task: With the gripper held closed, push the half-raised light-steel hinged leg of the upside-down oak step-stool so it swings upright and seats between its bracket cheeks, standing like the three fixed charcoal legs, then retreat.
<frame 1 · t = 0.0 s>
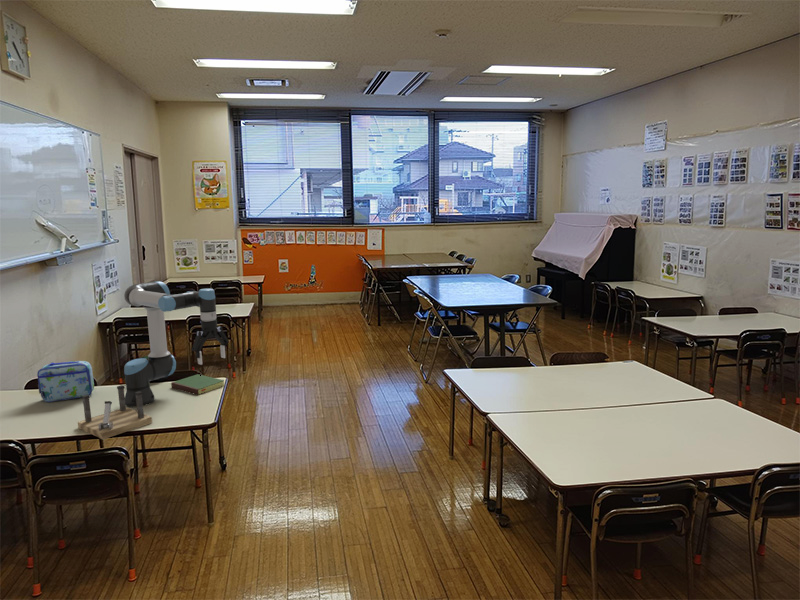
hand: (211, 360, 279), 28 cm above the table, fingers open, 13 cm apart
hardcover book: (198, 388, 327), on the table
lunch box: (68, 398, 310), on the table
stool top: (115, 425, 270), on the table
toy tractor: (149, 381, 339), on the table
hinged leg: (106, 415, 260), point 9 cm above the table, hinge at 58.0°
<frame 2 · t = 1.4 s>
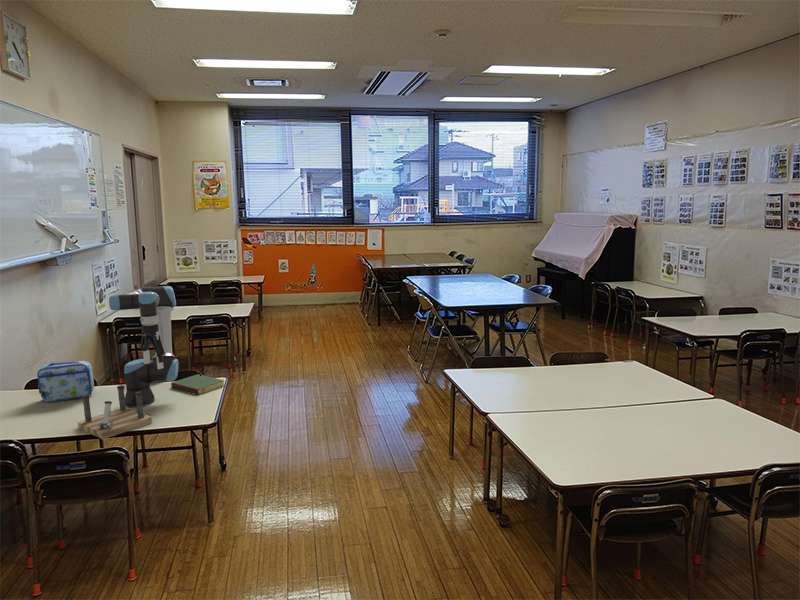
hand: (153, 366, 272), 28 cm above the table, fingers open, 13 cm apart
nothing on the table moved.
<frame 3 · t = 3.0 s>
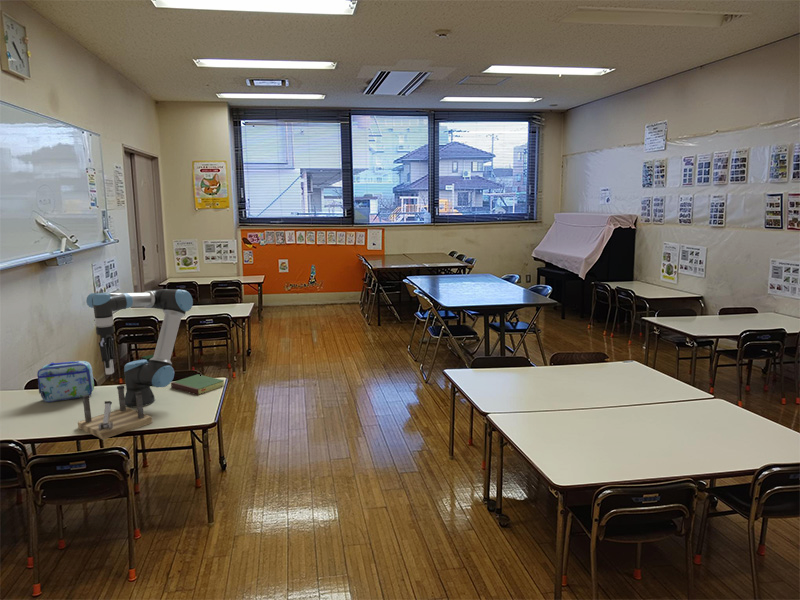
hand: (109, 373, 266), 26 cm above the table, fingers closed
nothing on the table moved.
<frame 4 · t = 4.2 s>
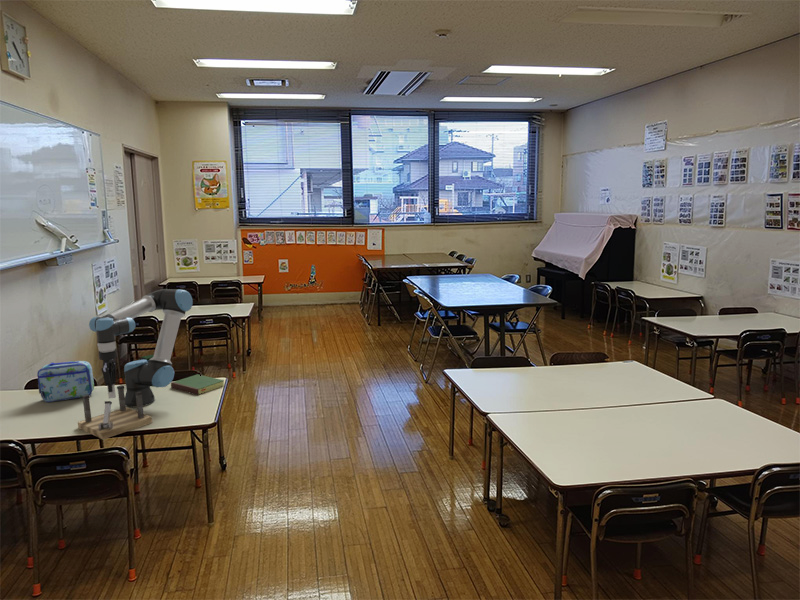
hand: (112, 397, 268), 14 cm above the table, fingers closed
nothing on the table moved.
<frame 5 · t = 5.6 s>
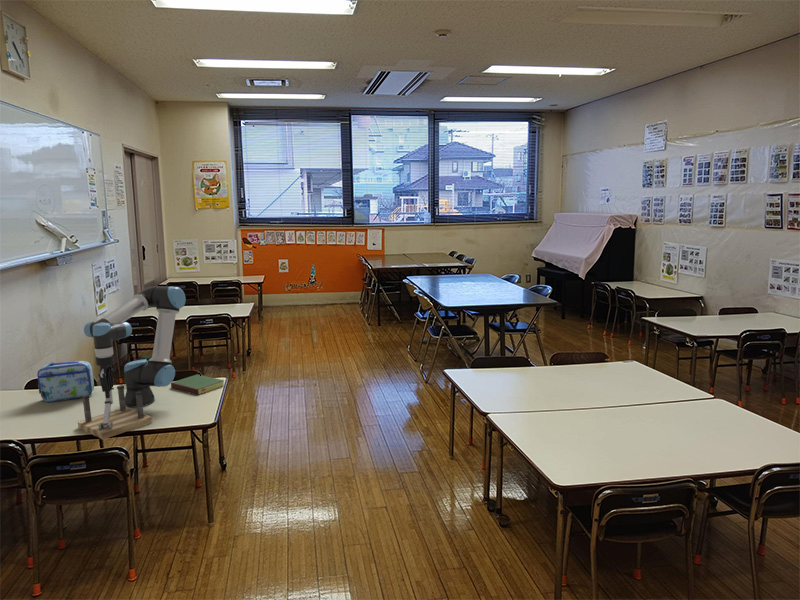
hand: (109, 403, 264), 13 cm above the table, fingers closed
hinged leg: (106, 415, 260), point 9 cm above the table, hinge at 58.0°, touching gripper
everything else where it was.
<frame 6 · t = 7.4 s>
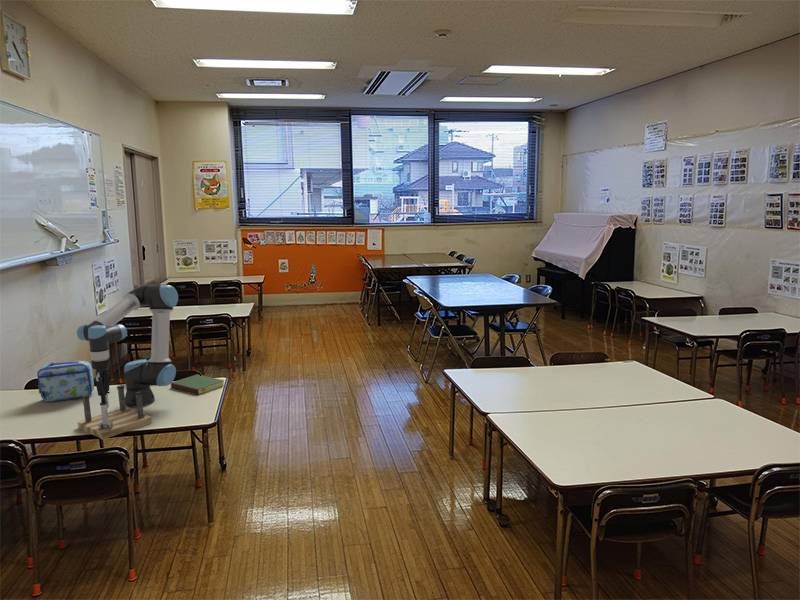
hand: (105, 407, 259), 13 cm above the table, fingers closed
hinged leg: (104, 415, 257), point 10 cm above the table, hinge at 87.7°, touching gripper
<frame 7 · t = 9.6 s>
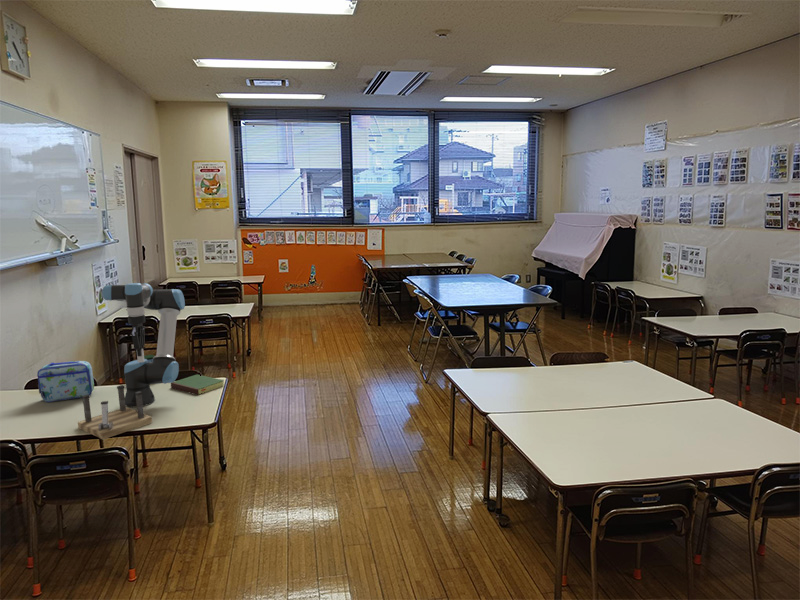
hand: (141, 361, 272), 30 cm above the table, fingers closed
hinged leg: (105, 415, 258), point 10 cm above the table, hinge at 81.9°
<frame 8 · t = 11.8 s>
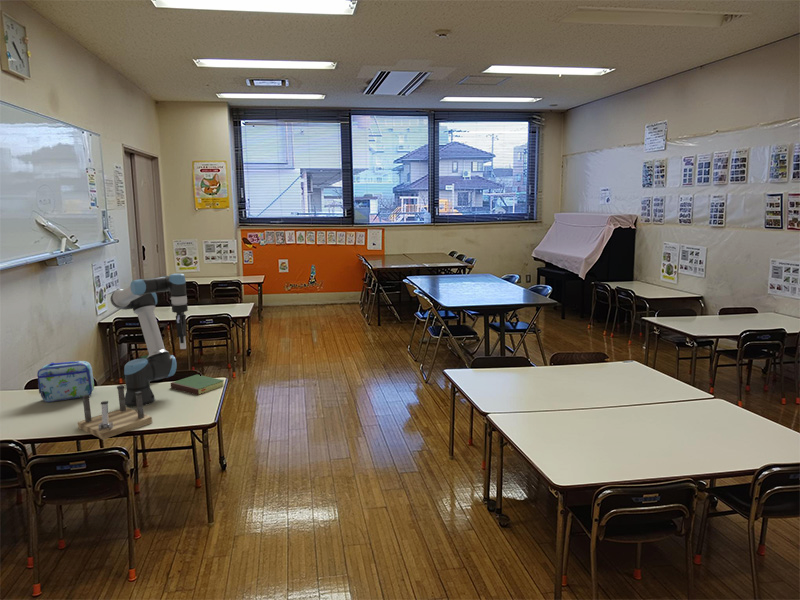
hand: (183, 348, 287), 32 cm above the table, fingers closed
at the end: hinged leg at +82° (first picture: +58°) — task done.
